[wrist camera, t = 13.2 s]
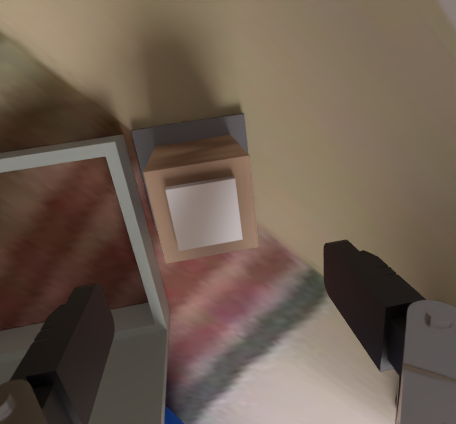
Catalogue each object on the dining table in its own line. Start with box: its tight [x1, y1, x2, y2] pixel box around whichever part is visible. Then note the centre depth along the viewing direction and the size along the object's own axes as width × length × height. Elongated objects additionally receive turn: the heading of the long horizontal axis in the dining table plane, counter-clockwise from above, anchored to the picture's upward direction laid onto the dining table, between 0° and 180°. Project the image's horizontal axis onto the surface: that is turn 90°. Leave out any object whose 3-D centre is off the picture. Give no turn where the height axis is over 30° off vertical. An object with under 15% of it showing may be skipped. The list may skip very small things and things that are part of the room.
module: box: [143, 135, 259, 264], centre depth 20 cm, size 6×6×8 cm
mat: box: [131, 113, 248, 232], centre depth 23 cm, size 8×8×1 cm
